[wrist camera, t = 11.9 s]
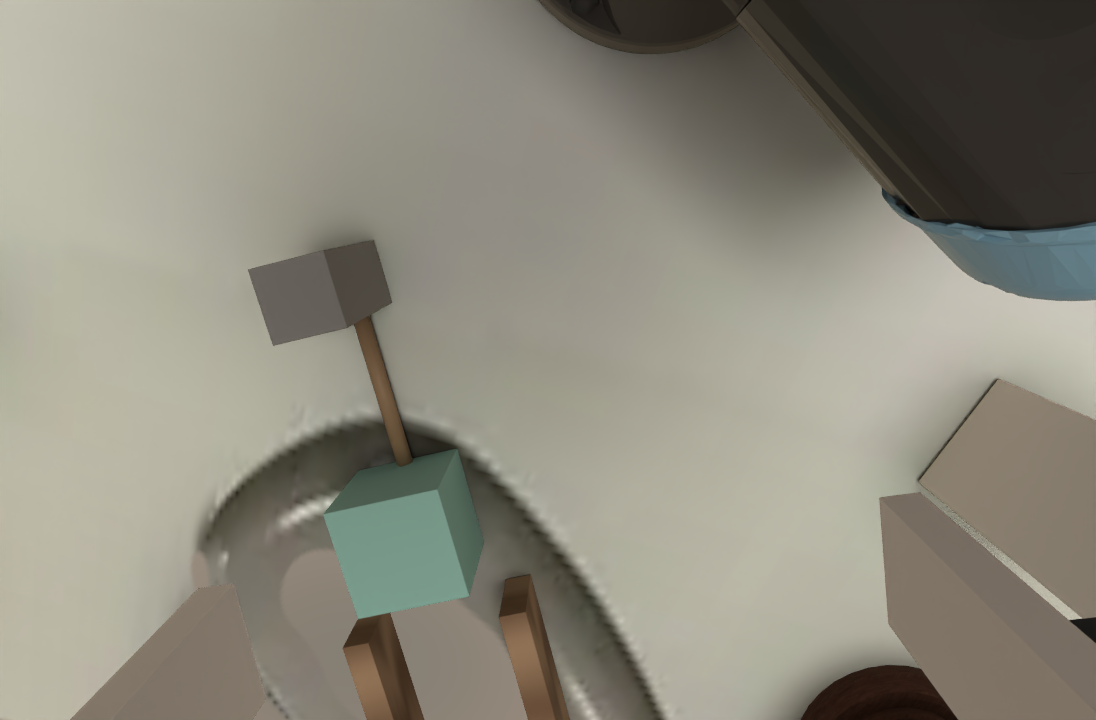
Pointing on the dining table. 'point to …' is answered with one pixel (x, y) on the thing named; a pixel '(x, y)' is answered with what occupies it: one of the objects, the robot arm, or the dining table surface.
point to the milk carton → (1027, 487)
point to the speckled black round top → (880, 697)
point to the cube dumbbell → (409, 483)
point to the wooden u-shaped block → (390, 683)
